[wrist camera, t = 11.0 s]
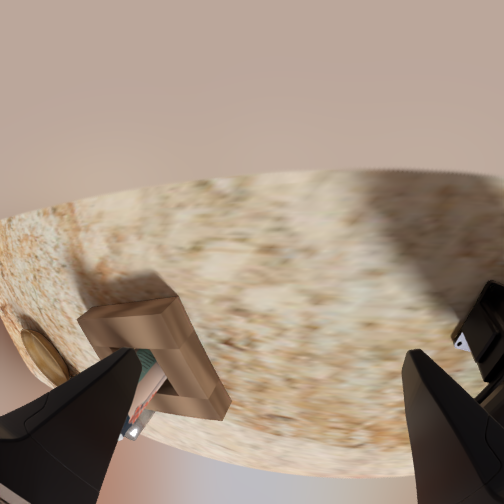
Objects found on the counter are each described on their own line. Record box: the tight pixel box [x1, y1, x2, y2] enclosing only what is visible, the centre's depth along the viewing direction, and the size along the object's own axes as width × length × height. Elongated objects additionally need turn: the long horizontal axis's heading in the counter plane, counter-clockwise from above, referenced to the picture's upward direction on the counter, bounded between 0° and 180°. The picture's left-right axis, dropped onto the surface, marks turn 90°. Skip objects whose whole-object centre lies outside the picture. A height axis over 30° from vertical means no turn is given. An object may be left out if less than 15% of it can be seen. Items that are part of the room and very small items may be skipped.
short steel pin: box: [124, 409, 155, 441], centre depth 33 cm, size 4×4×6 cm
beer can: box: [118, 348, 167, 441], centre depth 24 cm, size 5×5×12 cm
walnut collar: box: [77, 296, 232, 421], centre depth 28 cm, size 14×14×3 cm
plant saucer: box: [21, 329, 70, 387], centre depth 42 cm, size 15×15×3 cm
